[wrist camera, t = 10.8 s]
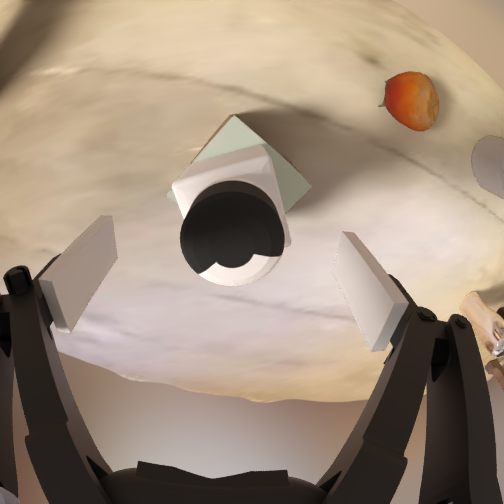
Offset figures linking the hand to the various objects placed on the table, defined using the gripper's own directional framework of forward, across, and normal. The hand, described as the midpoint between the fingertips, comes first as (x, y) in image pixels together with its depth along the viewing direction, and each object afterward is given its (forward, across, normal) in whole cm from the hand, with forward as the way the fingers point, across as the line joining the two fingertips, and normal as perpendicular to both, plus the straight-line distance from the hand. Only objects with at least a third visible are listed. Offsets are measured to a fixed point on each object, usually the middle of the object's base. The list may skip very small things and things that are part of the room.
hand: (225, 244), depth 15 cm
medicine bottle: (+12, 0, 0) cm, 12 cm away
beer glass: (+21, +54, -21) cm, 62 cm away
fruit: (+22, +22, +13) cm, 33 cm away
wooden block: (+21, +94, -50) cm, 109 cm away
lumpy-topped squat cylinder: (+22, +45, +9) cm, 51 cm away
